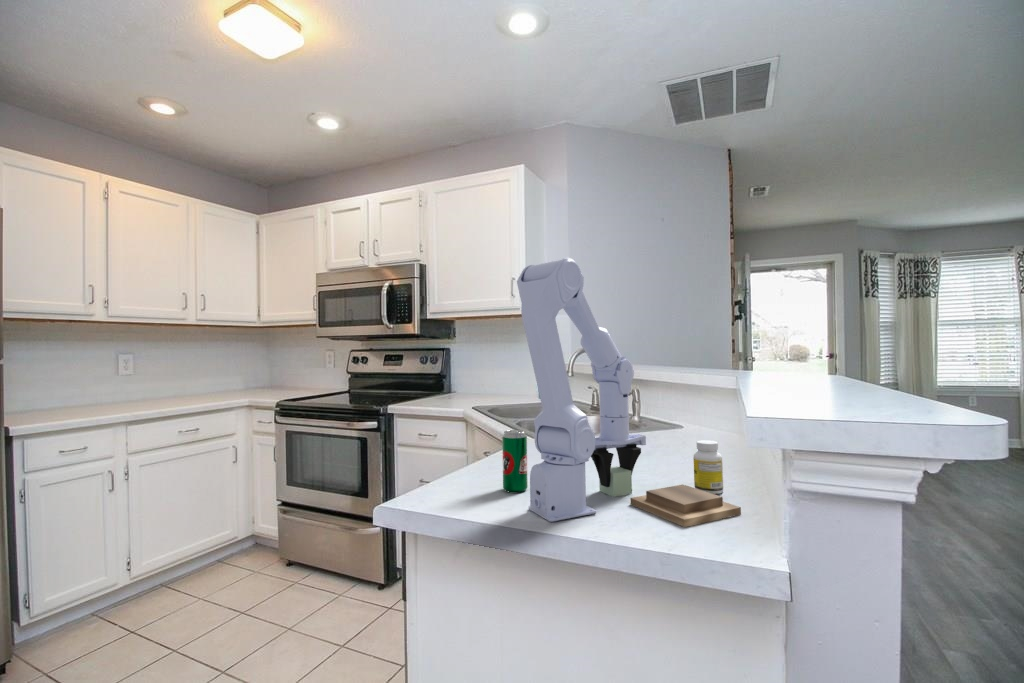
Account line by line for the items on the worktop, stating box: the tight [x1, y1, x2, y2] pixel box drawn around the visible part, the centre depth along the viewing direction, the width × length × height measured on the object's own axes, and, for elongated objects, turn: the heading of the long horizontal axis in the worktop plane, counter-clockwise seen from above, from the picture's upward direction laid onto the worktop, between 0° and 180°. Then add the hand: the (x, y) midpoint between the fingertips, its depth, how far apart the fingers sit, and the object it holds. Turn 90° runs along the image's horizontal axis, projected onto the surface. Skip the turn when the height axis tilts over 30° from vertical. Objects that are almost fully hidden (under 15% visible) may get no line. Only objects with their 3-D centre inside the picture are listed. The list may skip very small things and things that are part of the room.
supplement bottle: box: [693, 439, 724, 495], centre depth 95 cm, size 5×5×10 cm
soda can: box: [501, 429, 529, 493], centre depth 97 cm, size 5×5×12 cm
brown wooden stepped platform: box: [629, 484, 742, 528], centre depth 83 cm, size 13×13×3 cm
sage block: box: [598, 465, 633, 498], centre depth 94 cm, size 4×4×4 cm
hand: (615, 484), depth 94 cm, fingers closed on sage block, 4 cm apart
